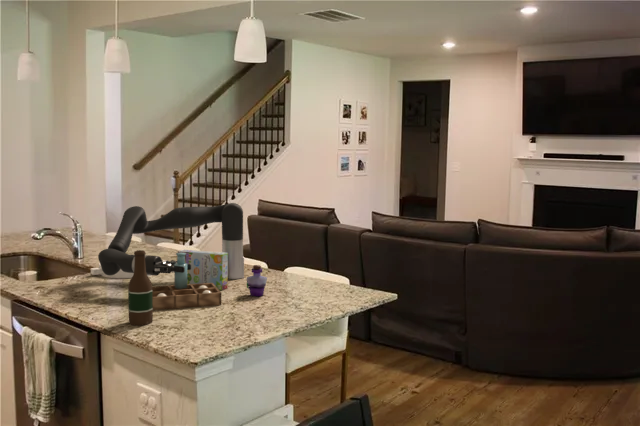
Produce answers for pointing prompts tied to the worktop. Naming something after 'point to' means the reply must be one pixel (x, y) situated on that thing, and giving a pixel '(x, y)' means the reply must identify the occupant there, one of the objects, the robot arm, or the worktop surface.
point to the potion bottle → (256, 282)
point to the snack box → (207, 267)
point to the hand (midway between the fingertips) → (187, 268)
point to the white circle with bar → (118, 275)
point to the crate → (185, 296)
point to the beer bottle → (140, 293)
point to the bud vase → (180, 278)
